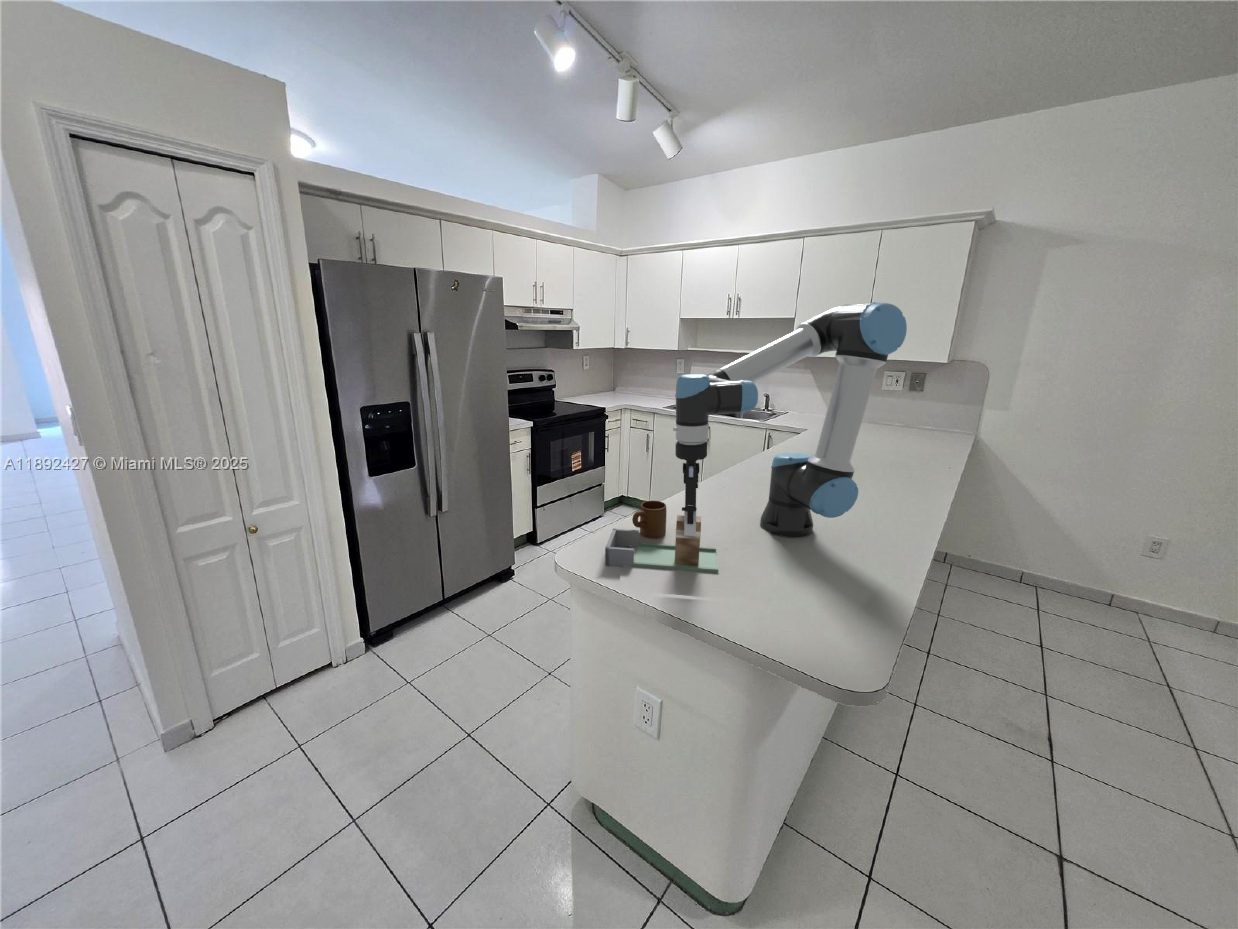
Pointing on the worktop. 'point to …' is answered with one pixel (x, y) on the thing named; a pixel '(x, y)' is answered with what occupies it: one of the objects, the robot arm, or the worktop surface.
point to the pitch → (652, 553)
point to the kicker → (687, 544)
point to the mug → (651, 519)
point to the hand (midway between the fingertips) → (690, 523)
